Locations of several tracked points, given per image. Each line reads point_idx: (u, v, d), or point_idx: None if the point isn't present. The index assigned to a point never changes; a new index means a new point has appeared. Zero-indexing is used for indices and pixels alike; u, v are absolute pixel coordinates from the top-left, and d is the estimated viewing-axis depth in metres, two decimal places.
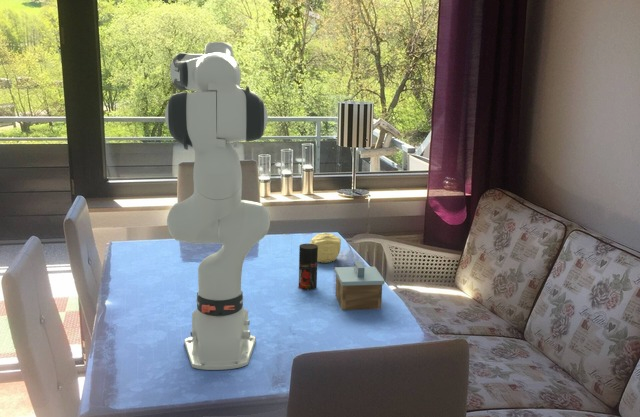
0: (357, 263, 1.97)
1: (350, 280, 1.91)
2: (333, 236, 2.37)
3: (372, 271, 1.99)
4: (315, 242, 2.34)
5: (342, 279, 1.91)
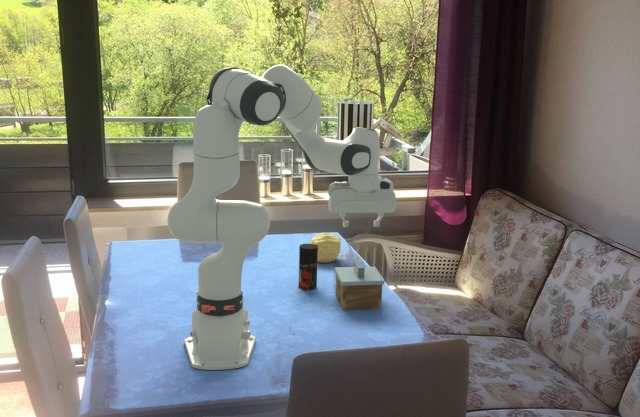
0: (357, 263, 1.97)
1: (350, 280, 1.91)
2: (333, 236, 2.37)
3: (372, 271, 1.99)
4: (315, 242, 2.34)
5: (342, 279, 1.91)
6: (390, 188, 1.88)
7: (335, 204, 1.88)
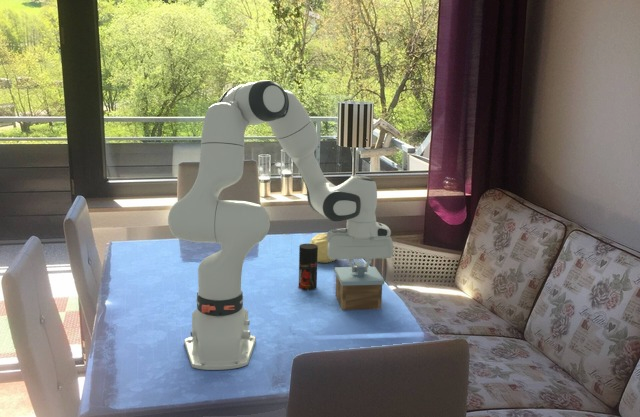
0: (357, 263, 1.97)
1: (350, 280, 1.91)
2: None
3: (372, 271, 1.99)
4: (315, 242, 2.34)
5: (342, 279, 1.91)
6: (387, 235, 1.91)
7: (333, 251, 1.92)
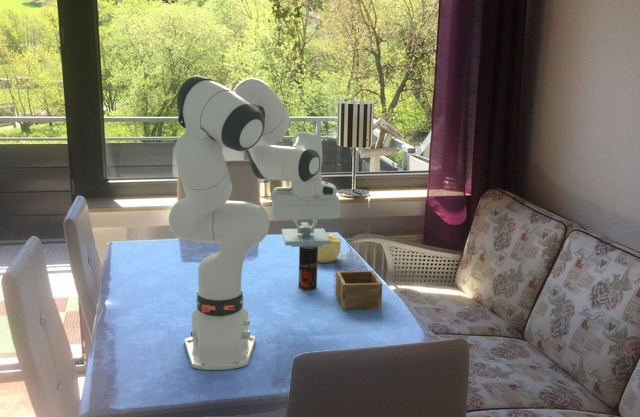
0: (303, 224, 1.91)
1: (295, 240, 1.84)
2: (333, 236, 2.37)
3: (320, 232, 1.93)
4: None
5: (286, 239, 1.85)
6: (333, 193, 1.85)
7: (277, 210, 1.85)
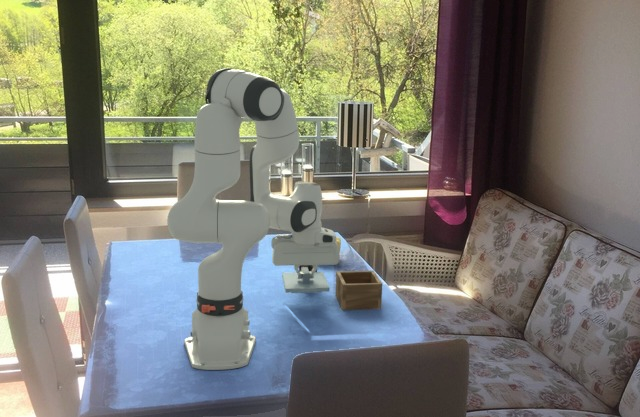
0: (303, 269, 1.94)
1: (295, 287, 1.88)
2: None
3: (320, 277, 1.97)
4: None
5: (286, 286, 1.89)
6: (333, 241, 1.88)
7: (278, 257, 1.89)
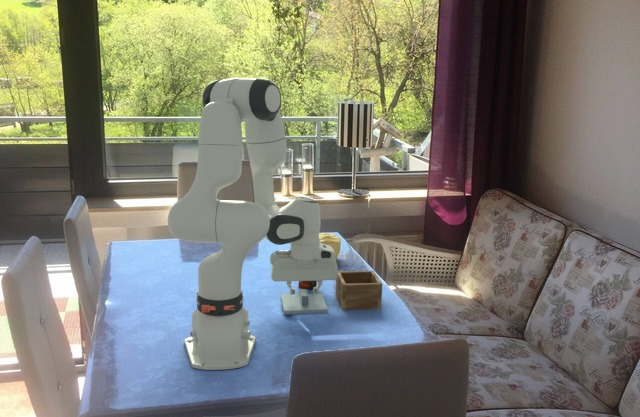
0: (302, 291, 1.96)
1: (293, 309, 1.90)
2: (333, 236, 2.37)
3: (318, 298, 1.98)
4: None
5: (285, 308, 1.90)
6: (331, 257, 1.90)
7: (276, 273, 1.90)
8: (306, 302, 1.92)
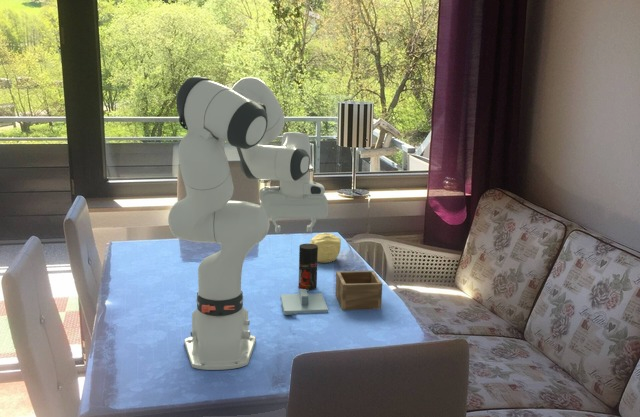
0: (302, 291, 1.96)
1: (293, 309, 1.90)
2: (333, 236, 2.37)
3: (318, 298, 1.98)
4: (315, 242, 2.34)
5: (285, 308, 1.90)
6: (321, 193, 1.86)
7: (265, 209, 1.87)
8: (306, 302, 1.92)
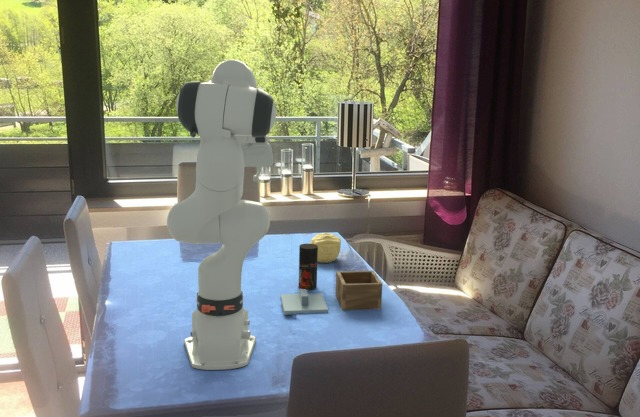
0: (302, 291, 1.96)
1: (293, 309, 1.90)
2: (333, 236, 2.37)
3: (318, 298, 1.98)
4: (315, 242, 2.34)
5: (285, 308, 1.90)
6: (266, 142, 1.91)
7: None
8: (306, 302, 1.92)
